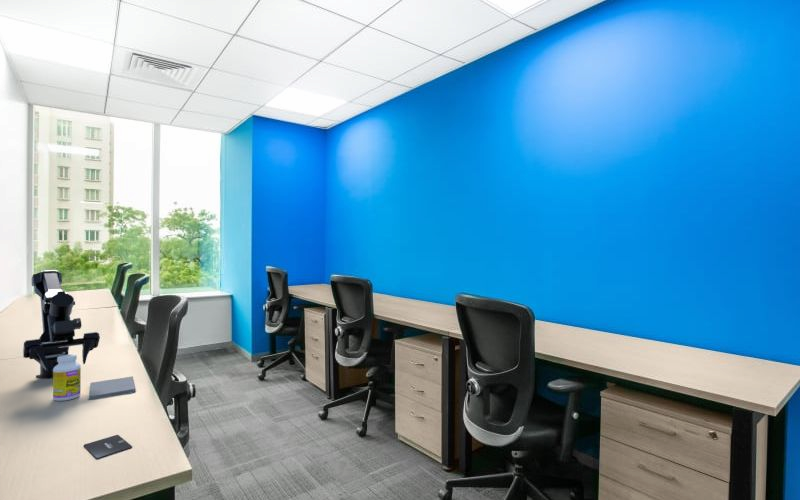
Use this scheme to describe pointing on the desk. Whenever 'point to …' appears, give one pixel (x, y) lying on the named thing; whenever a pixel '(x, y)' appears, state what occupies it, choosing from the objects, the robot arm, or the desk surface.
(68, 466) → the desk surface
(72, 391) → the supplement bottle
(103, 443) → the solid state drive
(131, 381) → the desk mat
